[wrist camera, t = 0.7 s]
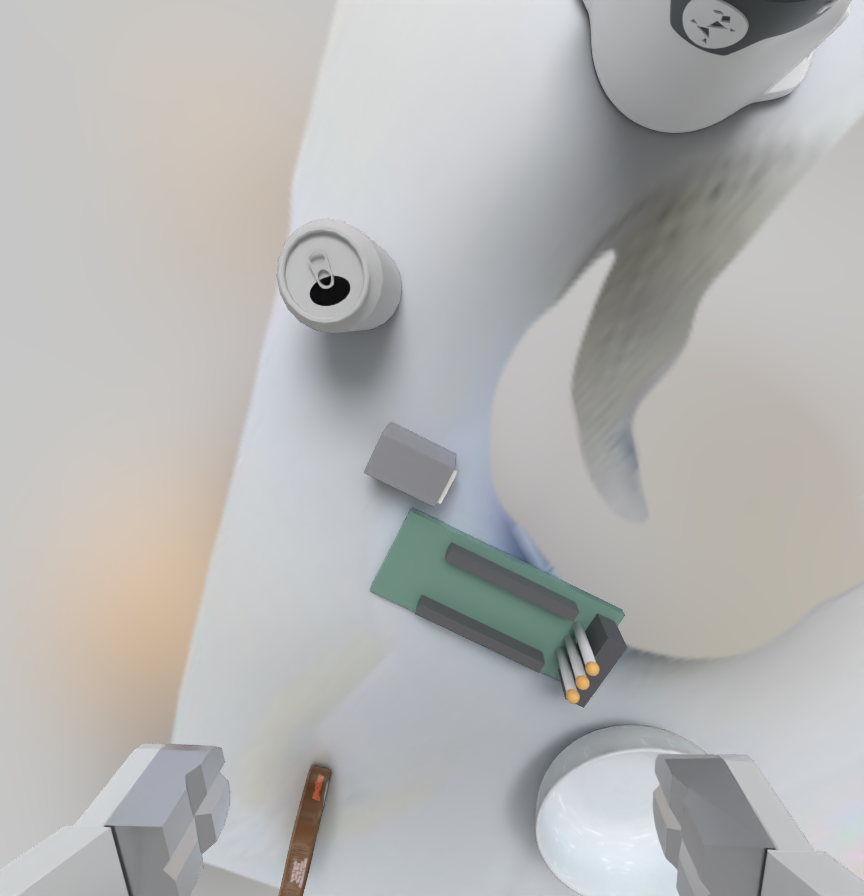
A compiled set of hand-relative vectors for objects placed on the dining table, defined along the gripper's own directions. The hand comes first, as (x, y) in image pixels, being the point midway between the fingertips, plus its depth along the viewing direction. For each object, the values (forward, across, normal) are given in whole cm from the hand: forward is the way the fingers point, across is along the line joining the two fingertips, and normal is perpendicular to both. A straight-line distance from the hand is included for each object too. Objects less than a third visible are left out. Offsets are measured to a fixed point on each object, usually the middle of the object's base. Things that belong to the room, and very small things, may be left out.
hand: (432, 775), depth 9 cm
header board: (+38, -3, +19) cm, 42 cm away
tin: (+39, +19, +47) cm, 64 cm away
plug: (+38, +5, +4) cm, 38 cm away
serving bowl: (+38, -17, +42) cm, 59 cm away
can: (+38, +8, -12) cm, 40 cm away
